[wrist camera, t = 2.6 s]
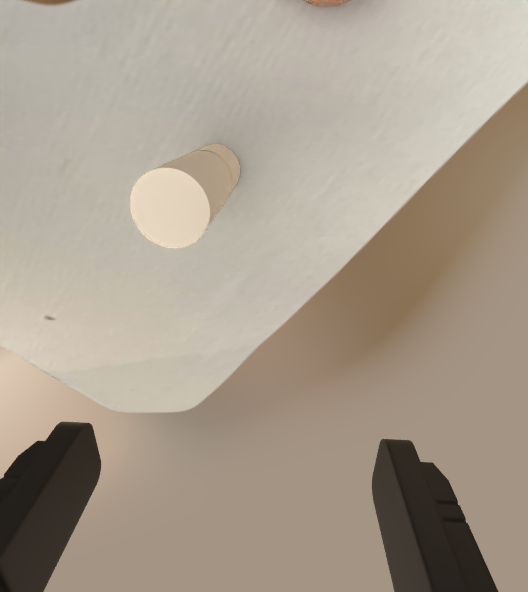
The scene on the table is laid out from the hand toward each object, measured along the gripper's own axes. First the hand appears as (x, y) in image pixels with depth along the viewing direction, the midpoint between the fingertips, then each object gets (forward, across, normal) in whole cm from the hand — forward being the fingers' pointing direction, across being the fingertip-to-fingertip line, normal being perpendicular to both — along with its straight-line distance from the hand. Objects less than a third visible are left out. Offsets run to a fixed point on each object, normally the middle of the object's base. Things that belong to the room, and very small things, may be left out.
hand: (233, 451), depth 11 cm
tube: (+27, +5, -4) cm, 28 cm away
